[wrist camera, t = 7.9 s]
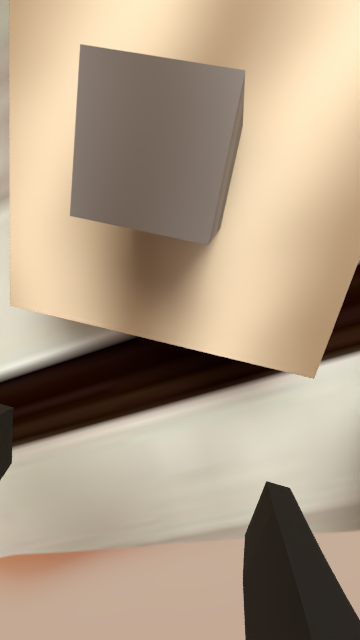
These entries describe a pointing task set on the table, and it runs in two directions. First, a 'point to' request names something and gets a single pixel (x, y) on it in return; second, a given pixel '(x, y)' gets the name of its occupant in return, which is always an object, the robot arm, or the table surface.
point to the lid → (187, 170)
